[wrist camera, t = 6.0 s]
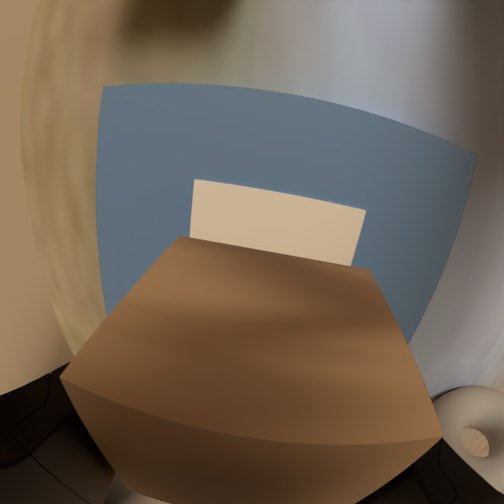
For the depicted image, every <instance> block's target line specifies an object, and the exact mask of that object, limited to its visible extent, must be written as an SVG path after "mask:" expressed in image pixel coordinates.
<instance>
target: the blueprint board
mask: <svg viewBox="0 0 504 504" xmlns="http://www.w3.org/2000/svg"><path fill="white" fill-rule="evenodd" d="M475 160H476V155H475V154H473V153H471V152H469V151H467V150H465V149H463V148H461V147H459V146H457V145H455V144H452V143H450V142H448V141H446V140H443V139H441V138H439V137H436V136H434V135H431V134H429V133H427V132H424V131H421V130H419V129H416V128H414V127H411V126H408V125H405V124H403V123H400V122H397V121H394V120H391V119H388V118H385V117H382V116H379V115H375V114H372V113H369V112H365V111H362V110H358V109H355V108H351V107H347V106H343V105H339V104H335V103H331V102H327V101H322V100H318V99H313V98H308V97H303V96H298V95H292V94H287V93H281V92H274V91H267V90H260V89H252V88H243V87H233V86H221V85H205V84H135V85H119V86H108V87H103V93H102V100H101V109H100V118H99V128H98V141H97V159H96V219H97V238H98V251H99V262H100V272H101V280H102V288H103V295H104V302H105V308H106V314H107V316H108V315H109V314H110V313H111V312H112V310H113V309H114V308H115V307H116V306H117V304H118V303H119V302H120V301H121V300H122V299H123V298H124V296H125V295H126V294H127V293H128V292H129V291H130V289H131V288H132V287H133V286H134V285H135V284H136V283H137V282H138V280H139V279H140V278H141V277H142V276H143V275H144V274H145V273H146V272H147V270H148V269H149V268H150V267H151V266H152V265H153V264H154V263H155V262H156V261H157V260H158V258H159V257H160V256H161V255H162V254H163V253H164V252H165V251H166V250H167V249H168V248H169V247H170V246H171V245H172V243H173V242H174V241H175V240H176V239H177V238H178V237H179V236H185V237H191V238H196V239H202V240H208V241H213V242H219V243H224V244H230V245H236V246H241V247H247V248H253V249H258V250H264V251H269V252H275V253H281V254H286V255H292V256H297V257H303V258H308V259H314V260H319V261H325V262H330V263H336V264H341V265H347V266H352V267H358V268H363V269H369V270H370V272H371V274H372V275H373V277H374V279H375V281H376V283H377V285H378V287H379V288H380V290H381V292H382V294H383V296H384V298H385V300H386V302H387V304H388V306H389V308H390V310H391V311H392V313H393V315H394V317H395V320H396V322H397V324H398V326H399V328H400V330H401V332H402V334H403V336H404V338H405V340H406V342H407V345H408V343H409V341H410V339H411V338H412V336H413V334H414V332H415V330H416V328H417V326H418V324H419V322H420V320H421V318H422V316H423V314H424V312H425V310H426V308H427V306H428V304H429V302H430V299H431V297H432V295H433V293H434V291H435V288H436V286H437V284H438V281H439V279H440V276H441V274H442V272H443V269H444V267H445V264H446V261H447V259H448V256H449V253H450V251H451V248H452V245H453V242H454V239H455V236H456V233H457V230H458V227H459V224H460V221H461V217H462V214H463V210H464V207H465V203H466V199H467V196H468V192H469V188H470V183H471V179H472V175H473V170H474V165H475Z"/></svg>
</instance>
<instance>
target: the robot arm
mask: <svg viewBox="0 0 504 504" xmlns="http://www.w3.org/2000/svg"><path fill="white" fill-rule="evenodd" d="M70 362H71V361H70ZM70 362H69V363H67V364H65V365H63V366H61V367H59V368H57V369H56V370H54V371H52V372H51V374H50V373H48V374H46V375H44V376H42V377H40V378H38V379H37V380H34V381H32V382H30V383H28V384H26V385H24V386H22V387H20V388H18V389H15V390H13V391H10V392H8V393H5V394H3V395H0V504H102V503H103V500H104V498H105V496H106V494H107V491H108V489H109V486H110V484H111V482H112V480H113V477H114V475H115V473H116V472H115V470H114V469H113V468H112V466H111V465H110V464H109V462H108V461H107V459H106V458H105V457H104V455H103V454H102V452H101V451H100V449H99V448H98V446H97V445H96V443H95V441H94V440H93V438H92V437H91V435H90V433H89V432H88V430H87V429H86V427H85V425H84V423H83V422H82V420H81V418H80V416H79V415H78V413H77V411H76V409H75V407H74V406H73V404H72V402H71V400H70V398H69V396H68V394H67V392H66V390H65V388H64V386H63V384H62V382H61V379H60V375H61V374H62V373H63V371H64V370H65V369H66V367H67V366H68V365H69V364H70ZM355 504H504V494H502V493H501V492H499V491H498V490H496V489H495V488H494V487H493V486H492V485H491V484H489V483H488V482H487V481H486V480H485V479H484V478H483V477H482V476H481V475H479V474H478V473H477V472H476V471H475V470H474V469H473V468H472V467H471V466H470V465H469V464H467V463H466V462H465V461H464V460H463V459H462V458H461V457H460V456H459V455H458V454H457V453H456V452H455V450H454V449H453V448H452V447H451V446H450V445H449V444H448V443H447V442H446V441H445V440H444V439H443V438H441V439H440V440H439V441H438V442H437V443H436V444H434V445H433V446H432V447H431V448H430V449H429V450H428V451H427V452H426V453H424V454H423V455H422V456H421V457H420V458H419V459H417V460H416V461H415V462H414V463H412V464H411V465H410V466H409V467H407V468H406V469H405V470H404V471H402V472H401V473H400V474H398V475H397V476H396V477H394V478H393V479H392V480H390V481H389V482H387V483H386V484H385V485H383V486H382V487H380V488H379V489H377V490H376V491H374V492H373V493H371V494H370V495H368V496H366V497H365V498H363V499H362V500H360V501H358V502H357V503H355Z"/></svg>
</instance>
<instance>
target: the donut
mask: <svg viewBox="0 0 504 504" xmlns="http://www.w3.org/2000/svg"><path fill="white" fill-rule="evenodd" d="M433 407H434V409H435V412H436V415H437V417H438V420H439V423H440V426H441V429H442V432H443V435H444V436H443V437H442V438H443V439H444V440H445V441H446V442H447V443H448V444H449V445H450V446H451V447H452V448H453V449H454V450H455V452H456V453H457V454H458V455H459V456H460V457H461V458H462V459H463V460H464V461H465V462H466V463H467V464H469V465H470V466H471V467H472V468H473V469H474V470H475V471H476V472H477V473H478V474H479V475H481V476H482V477H483V478H484V479H485V480H486V481H487V482H488V483H489V484H491V485H492V486H493V487H494V488H495V489H496V490H498V491H499V492H501V491H502V490H503V489H504V393H502V392H500V391H498V390H496V389H493V388H490V387H484V386H467V387H460V388H458V389H455V390H453V391H450V392H448V393H446V394H444V395H442V396H441V397H440V398H439V399H438V400H437V401H435V402H434V403H433ZM464 428H473V429H476V430H478V431H480V432H481V433H482V434H483V435H484V436H485V437H486V439H487V440H488V444H489V454H488V456H487V457H476V456H474V455H472V454H470V453H469V452H468V451H467V450H466V449H465V448H464V447H463V445H462V443H461V440H460V430H462V429H464Z"/></svg>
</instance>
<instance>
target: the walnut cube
mask: <svg viewBox="0 0 504 504" xmlns="http://www.w3.org/2000/svg"><path fill="white" fill-rule="evenodd" d="M60 379H61V382H62V384H63V386H64V388H65V390H66V392H67V394H68V396H69V398H70V400H71V402H72V404H73V406H74V407H75V409H76V411H77V413H78V415H79V416H80V418H81V420H82V422H83V423H84V425H85V427H86V429H87V430H88V432H89V433H90V435H91V437H92V438H93V440H94V441H95V443H96V445H97V446H98V448H99V449H100V451H101V452H102V454H103V455H104V457H105V458H106V459H107V461H108V462H109V464H110V465H111V466H112V468H113V469H114V470H115V472H116V473H117V474H118V476H119V477H120V478H121V480H122V481H123V482H124V483H125V484H126V486H127V487H128V488H129V489H130V490H131V491H134V492H137V493H139V494H142V495H145V496H148V497H151V498H154V499H157V500H160V501H164V502H167V503H171V504H355V503H357V502H358V501H360V500H362V499H363V498H365V497H366V496H368V495H370V494H371V493H373V492H374V491H376V490H377V489H379V488H380V487H382V486H383V485H385V484H386V483H387V482H389V481H390V480H392V479H393V478H394V477H396V476H397V475H398V474H400V473H401V472H402V471H404V470H405V469H406V468H407V467H409V466H410V465H411V464H412V463H414V462H415V461H416V460H417V459H419V458H420V457H421V456H422V455H423V454H424V453H426V452H427V451H428V450H429V449H430V448H431V447H432V446H433V445H434V444H436V443H437V442H438V441H439V440H440V439H441V438H442V437H443V436H444V435H443V432H442V429H441V426H440V423H439V420H438V417H437V415H436V412H435V409H434V407H433V404H432V401H431V399H430V396H429V394H428V391H427V389H426V386H425V384H424V381H423V379H422V376H421V374H420V372H419V369H418V367H417V365H416V362H415V360H414V358H413V356H412V353H411V351H410V349H409V347H408V345H407V342H406V340H405V338H404V336H403V334H402V332H401V330H400V328H399V326H398V324H397V322H396V320H395V317H394V315H393V313H392V311H391V310H390V308H389V306H388V304H387V302H386V300H385V298H384V296H383V294H382V292H381V290H380V288H379V287H378V285H377V283H376V281H375V279H374V277H373V275H372V274H371V272H370V270H369V269H363V268H358V267H352V266H347V265H341V264H336V263H330V262H325V261H319V260H314V259H308V258H303V257H297V256H292V255H286V254H281V253H275V252H269V251H264V250H258V249H253V248H247V247H241V246H236V245H230V244H224V243H219V242H213V241H208V240H202V239H196V238H191V237H185V236H179V237H178V238H177V239H176V240H175V241H174V242H173V243H172V245H171V246H170V247H169V248H168V249H167V250H166V251H165V252H164V253H163V254H162V255H161V256H160V257H159V258H158V260H157V261H156V262H155V263H154V264H153V265H152V266H151V267H150V268H149V269H148V270H147V272H146V273H145V274H144V275H143V276H142V277H141V278H140V279H139V280H138V282H137V283H136V284H135V285H134V286H133V287H132V288H131V289H130V291H129V292H128V293H127V294H126V295H125V296H124V298H123V299H122V300H121V301H120V302H119V303H118V304H117V306H116V307H115V308H114V309H113V310H112V312H111V313H110V314H109V315H108V316H107V317H106V319H105V320H104V321H103V322H102V323H101V325H100V326H99V327H98V328H97V330H96V331H95V332H94V333H93V334H92V336H91V337H90V338H89V339H88V341H87V342H86V343H85V344H84V346H83V347H82V348H81V349H80V351H79V352H78V353H77V355H76V356H75V357H74V358H73V360H72V361H71V362H70V364H69V365H68V366H67V367H66V369H65V370H64V371H63V373H62V374H61V375H60Z"/></svg>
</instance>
